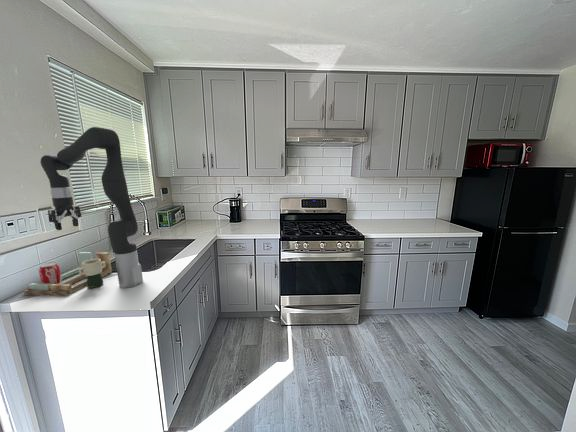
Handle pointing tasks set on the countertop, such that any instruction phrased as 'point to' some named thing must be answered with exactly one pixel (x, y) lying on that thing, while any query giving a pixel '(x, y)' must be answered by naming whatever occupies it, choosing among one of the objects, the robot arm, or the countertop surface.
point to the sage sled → (82, 257)
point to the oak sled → (83, 276)
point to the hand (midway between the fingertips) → (67, 228)
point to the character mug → (93, 272)
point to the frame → (46, 292)
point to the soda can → (50, 273)
